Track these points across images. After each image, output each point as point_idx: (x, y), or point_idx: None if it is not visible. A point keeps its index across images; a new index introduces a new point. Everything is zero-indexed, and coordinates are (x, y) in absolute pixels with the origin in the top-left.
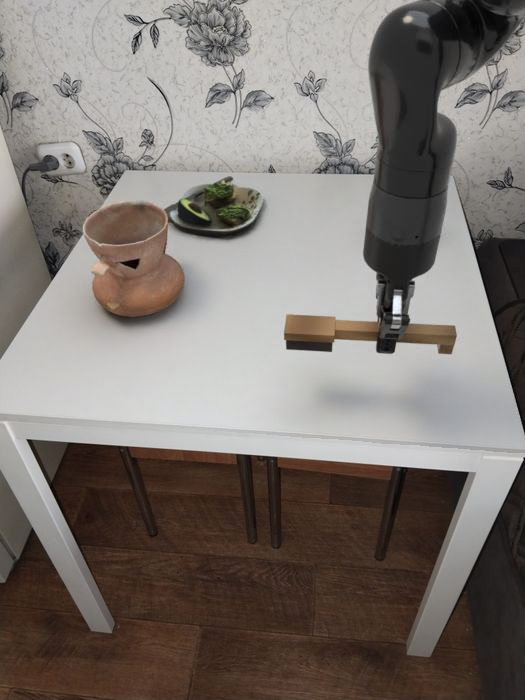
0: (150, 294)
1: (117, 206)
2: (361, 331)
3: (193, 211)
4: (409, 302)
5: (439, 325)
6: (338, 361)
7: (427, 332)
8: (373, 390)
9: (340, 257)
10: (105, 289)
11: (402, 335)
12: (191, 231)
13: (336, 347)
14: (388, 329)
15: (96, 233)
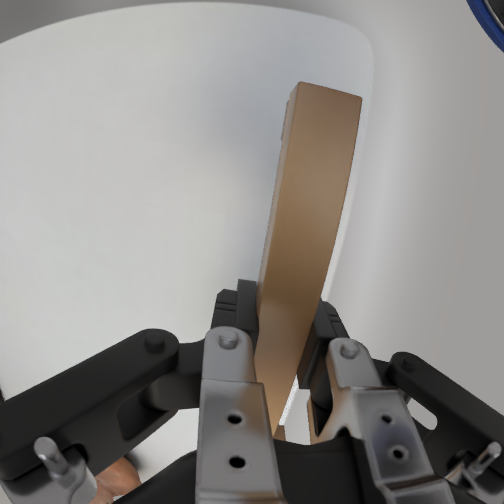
0: (118, 476)
1: None
2: (284, 405)
3: None
4: (424, 453)
5: (292, 147)
6: (168, 285)
7: (331, 211)
8: (240, 235)
9: None
10: (124, 494)
11: (450, 382)
12: (1, 400)
13: (135, 283)
14: (462, 451)
15: None
